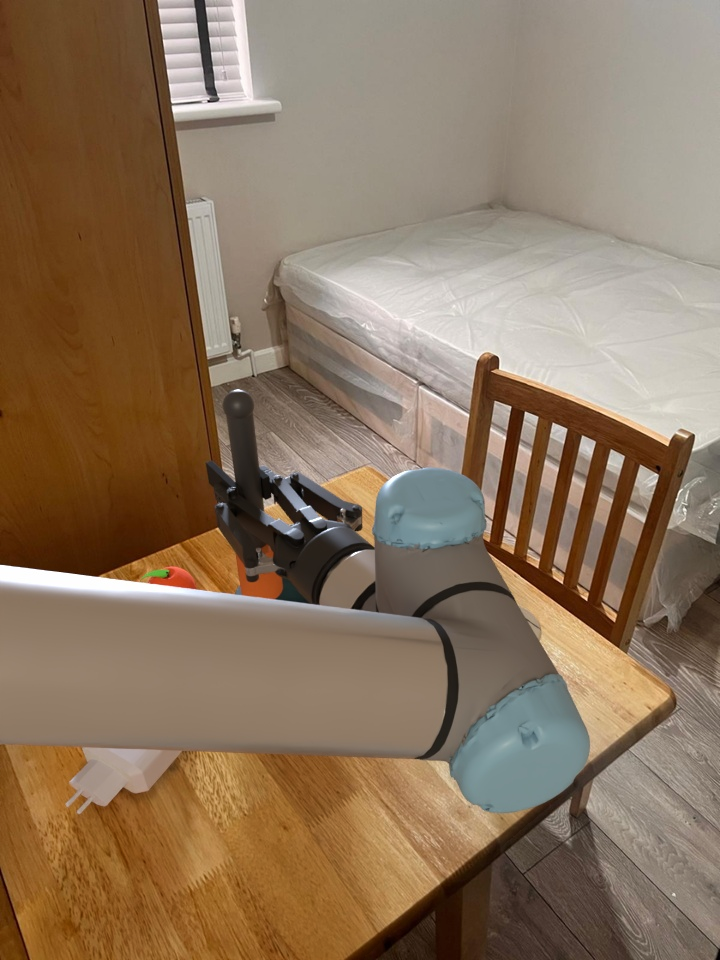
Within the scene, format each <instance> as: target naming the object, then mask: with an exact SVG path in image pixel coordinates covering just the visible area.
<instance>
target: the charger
mask: <svg viewBox="0 0 720 960" xmlns="http://www.w3.org/2000/svg"><path fill="white" fill-rule="evenodd" d="M81 750H82V752H83V755H84V758H85V761H86V762H87V763H86V764H85V765H84V766H83V767H82V768H81V769H80V770H79V771H78V772H77V773H76V774H75V775H74V776H73V777H72V778H71V780H69V782H68V783H69V785H70V786H71V788H73V789H74V790H75V793H74V794H73V795H72V796H71V797H70V798H69V799H68V801H66V803H65V804H64V805H65V807H66V808H69V807H71V805H72V804H73V803H74V802H75V801H76V800H77V799H78V798H79V797H80V796H82V797H84V798H86V800H85V802H84V803H82V805H81V806H80V807H79V808H78V809H77V810H76V814H77V815H81V814H82V813H83V812H84V811H85V810H86V808H88V806H89V805H90V804H91V803H94V804H96V805H97V806H101V807H106V806H108V805H109V804H110V803H111V801H112V800H113V799H114V798H115V797H116V796H117V794H118V793H119V792H120V791H121V790H122V789H123V788H124V789H126V790H127V791H129V792H131V793H133V794H140V793H145V792H149V791H150V790H151V788H152V787H153V786H154V785H155V784H156V782H157V781H158V780H159V779H160V778H161V777H162V776H163V774H165V772H166V771H167V770H168V769H169V768H170V766H171V765H172V764H173V763H174V762H175V761H176V759H177V758H179V756H180V755H181V754H182V752H183V751H173V750H145V749H117V748H89V747H81Z"/></svg>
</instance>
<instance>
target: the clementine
mask: <svg viewBox="0 0 720 960" xmlns="http://www.w3.org/2000/svg"><path fill="white" fill-rule="evenodd" d="M148 577H150V578H149V579H148V581H147V583H148V584H156V585H164V586H172V587H180V588H187V589H195V590H197V586H196V585H197V584H196V581H195V578H193V576H192V575H191V574H190V572H188V571H187V570H186V569H183V568H181V567H179V566H166V567H163V568H162V567H161V568H160V569H155V570H151V571H149V572H147V573H145V574H144V575H143V576H142V577H141V579H140V581H139V582H140V583H142V582H141V581H142V580H143V579H144V578H148Z"/></svg>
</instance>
